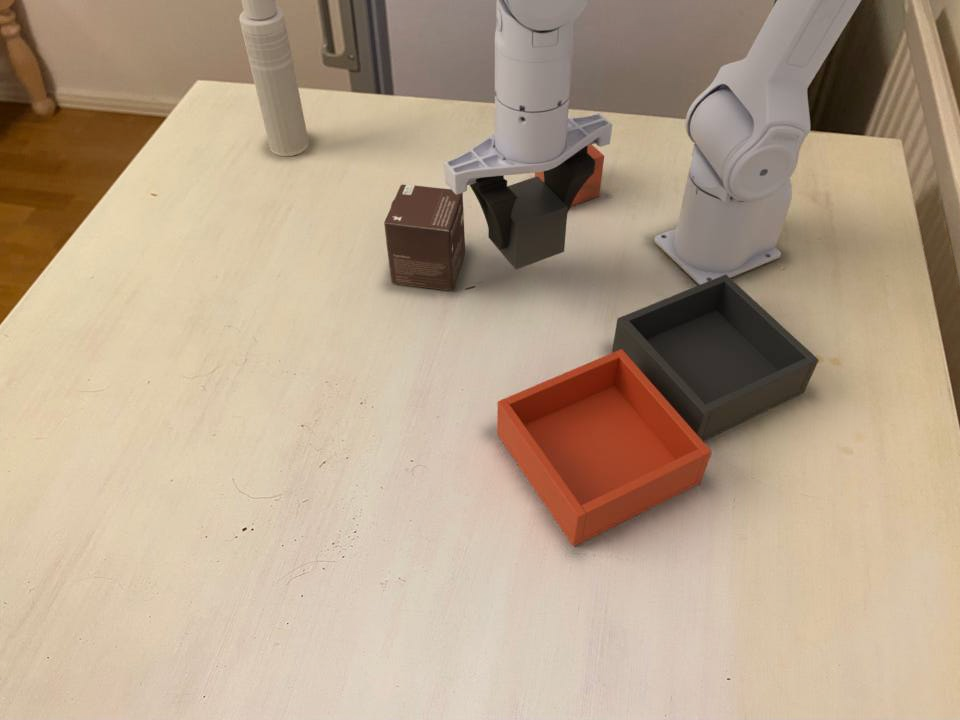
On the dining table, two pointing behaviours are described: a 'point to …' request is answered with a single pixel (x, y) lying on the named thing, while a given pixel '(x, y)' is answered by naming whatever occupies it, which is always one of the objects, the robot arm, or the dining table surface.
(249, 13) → the bottle
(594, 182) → the red block
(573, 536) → the rust bin
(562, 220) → the grey block
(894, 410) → the dining table surface
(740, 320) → the charcoal bin
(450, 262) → the box
